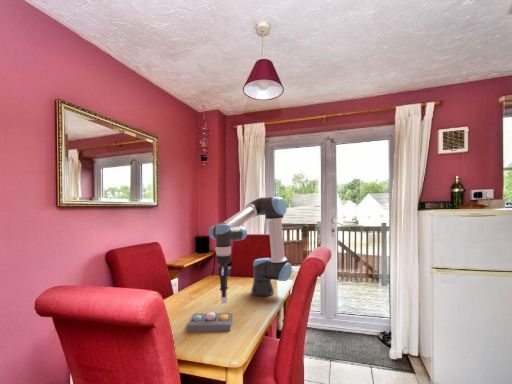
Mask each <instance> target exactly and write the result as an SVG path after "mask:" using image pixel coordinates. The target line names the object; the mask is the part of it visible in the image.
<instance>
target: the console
mask: <svg viewBox="0 0 512 384" xmlns="http://www.w3.org/2000/svg"><path fill="white" fill-rule="evenodd" d="M206 314H207V313H193V315H192V316H191V318H190V320H189V322H188V323H187V324H186V332H187V333H203V332H205V333H206V332H209V333H210V332H211V333H212V332H230V331H231V328H232V323H233V312H215V320H214V321H207V320H206ZM223 314H227V315H229V321H220V315H223ZM195 315H202V321H193V316H195Z"/></svg>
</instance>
